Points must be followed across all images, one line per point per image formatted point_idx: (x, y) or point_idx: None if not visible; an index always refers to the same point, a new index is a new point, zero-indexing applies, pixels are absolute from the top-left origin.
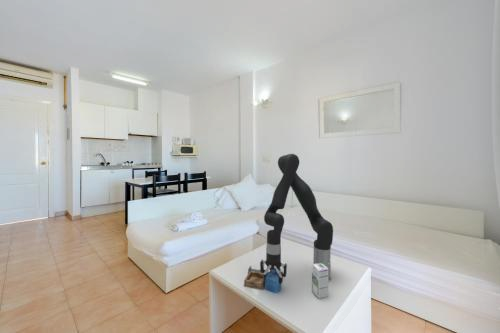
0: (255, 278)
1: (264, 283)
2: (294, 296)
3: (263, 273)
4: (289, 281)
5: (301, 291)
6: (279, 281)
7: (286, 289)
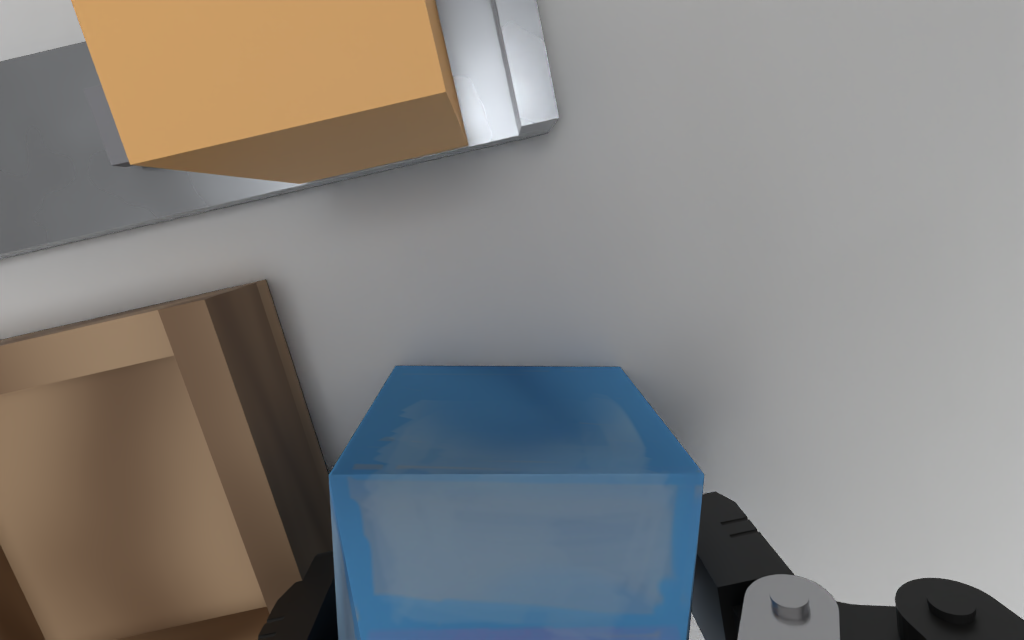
0: (58, 419)
1: (318, 502)
2: (897, 477)
3: (114, 336)
4: (708, 94)
5: (990, 290)
6: (692, 610)
7: (727, 378)
